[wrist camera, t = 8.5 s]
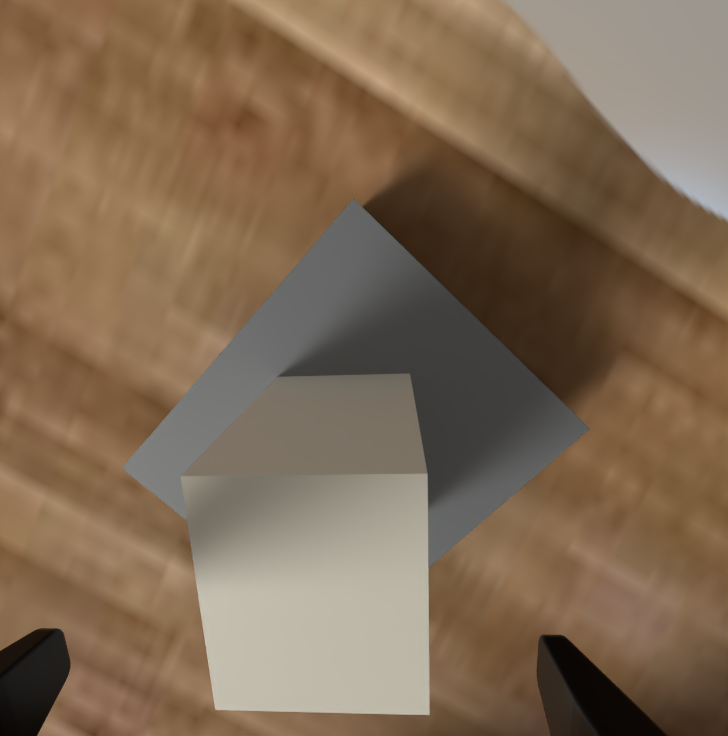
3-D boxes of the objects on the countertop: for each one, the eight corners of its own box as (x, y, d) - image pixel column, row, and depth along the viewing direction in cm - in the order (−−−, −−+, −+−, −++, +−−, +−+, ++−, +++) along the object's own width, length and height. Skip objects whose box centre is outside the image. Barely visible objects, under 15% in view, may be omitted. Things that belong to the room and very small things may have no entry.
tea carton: (412, 517, 18) (429, 714, 10) (289, 518, 18) (215, 709, 10) (409, 373, 17) (427, 473, 9) (277, 376, 17) (180, 476, 9)
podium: (560, 403, 20) (589, 428, 17) (346, 594, 22) (339, 643, 20) (359, 208, 18) (353, 198, 15) (159, 439, 21) (121, 468, 18)
